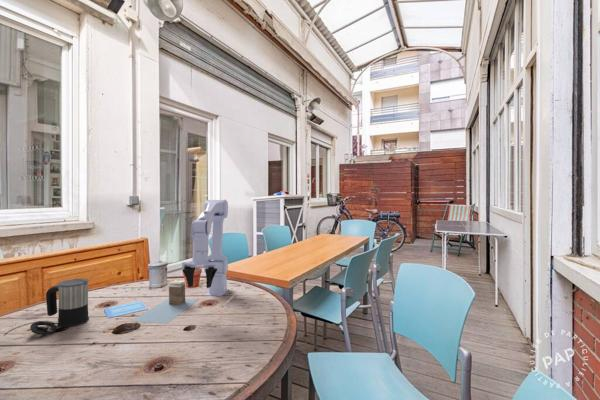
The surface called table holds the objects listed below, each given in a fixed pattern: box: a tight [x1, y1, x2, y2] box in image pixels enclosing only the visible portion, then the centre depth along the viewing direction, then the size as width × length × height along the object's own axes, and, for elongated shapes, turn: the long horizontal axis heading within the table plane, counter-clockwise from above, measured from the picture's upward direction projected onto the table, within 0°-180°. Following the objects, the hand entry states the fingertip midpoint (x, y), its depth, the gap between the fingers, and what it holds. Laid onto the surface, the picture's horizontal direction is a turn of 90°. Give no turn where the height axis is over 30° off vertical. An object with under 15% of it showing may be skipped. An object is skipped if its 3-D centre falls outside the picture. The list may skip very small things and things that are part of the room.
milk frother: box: [29, 278, 90, 336], centre depth 104 cm, size 14×16×15 cm
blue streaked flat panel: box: [103, 300, 149, 319], centre depth 119 cm, size 14×12×1 cm
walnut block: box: [168, 280, 186, 305], centre depth 126 cm, size 4×5×9 cm
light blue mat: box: [131, 297, 199, 324], centre depth 119 cm, size 24×14×1 cm, turn 173°
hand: (199, 287), depth 113 cm, fingers open, 7 cm apart
